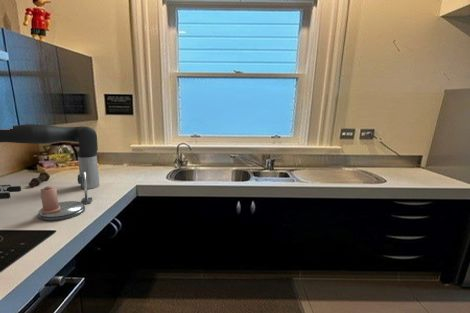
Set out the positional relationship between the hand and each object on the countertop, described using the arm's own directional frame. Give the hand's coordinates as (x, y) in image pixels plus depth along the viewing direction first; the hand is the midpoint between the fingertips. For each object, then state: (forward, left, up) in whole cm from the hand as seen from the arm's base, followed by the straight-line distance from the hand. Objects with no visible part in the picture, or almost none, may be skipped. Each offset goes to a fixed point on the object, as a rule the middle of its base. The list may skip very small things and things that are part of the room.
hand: (15, 192), depth 109 cm
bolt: (-52, -12, -12) cm, 55 cm away
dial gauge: (-14, +21, -11) cm, 28 cm away
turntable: (-3, +14, -10) cm, 18 cm away
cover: (0, +11, -9) cm, 15 cm away
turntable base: (-3, +14, -11) cm, 19 cm away
